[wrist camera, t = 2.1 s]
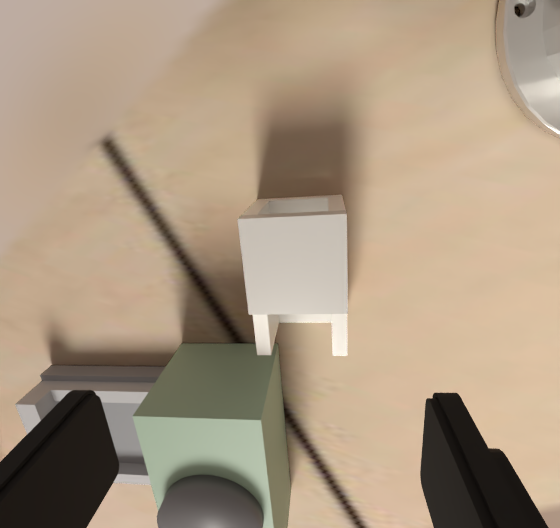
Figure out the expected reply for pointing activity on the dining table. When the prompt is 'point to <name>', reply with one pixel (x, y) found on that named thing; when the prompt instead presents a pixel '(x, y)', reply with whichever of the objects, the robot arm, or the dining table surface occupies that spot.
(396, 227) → the dining table surface
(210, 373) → the toy coffee machine
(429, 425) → the robot arm
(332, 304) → the white box on legs
